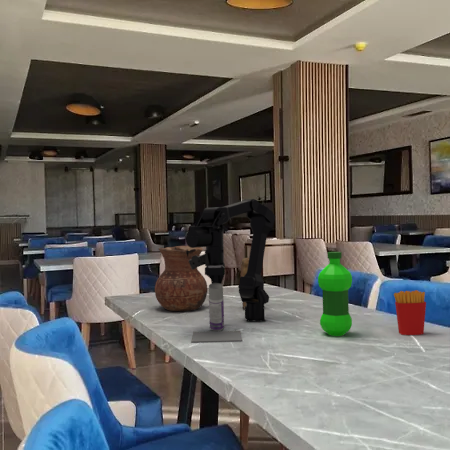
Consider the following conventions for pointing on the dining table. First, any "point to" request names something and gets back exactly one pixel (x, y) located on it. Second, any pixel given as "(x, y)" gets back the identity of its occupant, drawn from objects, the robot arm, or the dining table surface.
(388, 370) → the dining table surface
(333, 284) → the plastic bottle
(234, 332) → the mat
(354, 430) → the dining table surface
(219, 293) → the container
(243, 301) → the robot arm
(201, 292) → the jug
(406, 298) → the french fries
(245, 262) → the block
